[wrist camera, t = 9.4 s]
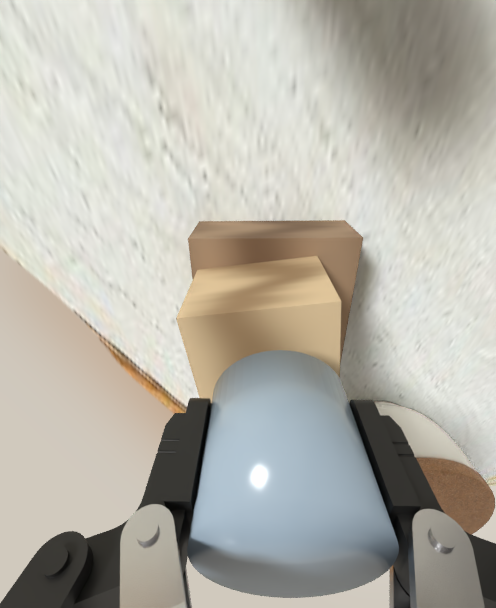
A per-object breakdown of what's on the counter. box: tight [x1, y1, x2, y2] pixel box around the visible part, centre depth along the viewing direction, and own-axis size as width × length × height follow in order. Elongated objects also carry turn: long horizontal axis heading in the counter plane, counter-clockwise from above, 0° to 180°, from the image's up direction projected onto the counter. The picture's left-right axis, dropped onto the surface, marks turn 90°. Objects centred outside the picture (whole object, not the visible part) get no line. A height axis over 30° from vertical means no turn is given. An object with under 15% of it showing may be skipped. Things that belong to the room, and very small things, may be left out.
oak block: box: [176, 256, 341, 402], centre depth 15 cm, size 6×6×5 cm
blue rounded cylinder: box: [187, 350, 399, 598], centre depth 10 cm, size 5×5×5 cm
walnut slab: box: [188, 220, 363, 362], centre depth 19 cm, size 9×9×4 cm
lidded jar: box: [374, 401, 495, 534], centre depth 23 cm, size 11×11×9 cm
